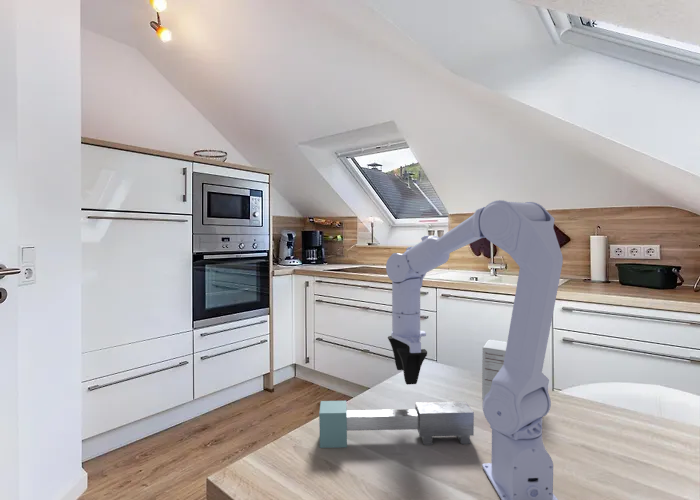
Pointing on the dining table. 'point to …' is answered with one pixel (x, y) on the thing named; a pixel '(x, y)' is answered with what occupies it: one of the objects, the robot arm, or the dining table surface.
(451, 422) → the sleeve
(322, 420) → the socket
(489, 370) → the supplement box
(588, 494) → the dining table surface
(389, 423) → the extension bar
